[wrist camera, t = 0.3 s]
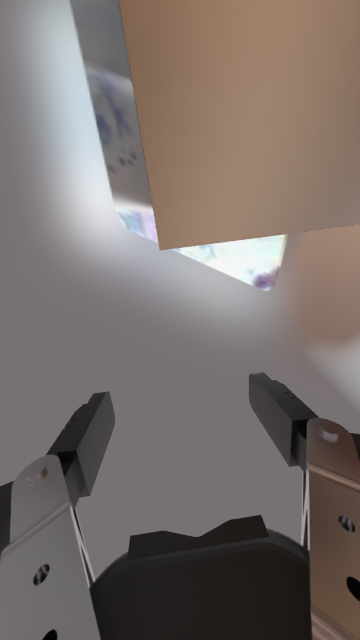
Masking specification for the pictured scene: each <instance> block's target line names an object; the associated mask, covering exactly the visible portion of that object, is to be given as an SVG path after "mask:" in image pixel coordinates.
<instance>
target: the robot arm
mask: <svg viewBox="0 0 360 640" xmlns="http://www.w3.org/2000/svg"><path fill="white" fill-rule="evenodd" d="M249 400H250V404H251V407H252V409H253V411H254V412H255V414H256V415H257V417H258V418H259V420H260V422H261V423H262V425H263V426H264V428H265V429H266V431H267V433H268V434H269V436H270V437H271V439H272V440H273V442H274V444H275V445H276V447H277V448H278V450H279V451H280V453H281V454H282V456H283V458H284V459H285V461H286V462H287V464H288V465H289V467H292V466H300V467H301V469H302V470H303V485H302V488H303V489H302V490H303V491H302V533H301V545H300V544H299V543H298V542H296V541H294V540H293V539H291V538H290V537H288V536H286V535H284V534H281V533H279V532H276V531H274V530H271V529H266V527H265V524H264V522H263V519H262V517H261V515H257V516H251V517H245V518H239V519H233V520H229V521H227V522H225V523H223V524H222V525H220V526H218V527H216V528H215V529H213V530H211V531H209V532H207V533H206V534H204V535H202V536H200V537H192V536H187V535H183V534H177V533H172V532H168V531H158V532H152V533H146V534H139V535H133V536H130V543H129V550H128V552H126V553H124V554H123V555H121V556H120V557H118V558H117V559H116V560H115V561H113V562H112V563H111V564H110V565H109V566H108V567H107V568H106V569H105V570H104V571H103V572H102V573H101V574H100V575H99V577H98V578H97V579H96V580H95V578H94V575H93V571H92V568H91V564H90V561H89V557H88V553H87V550H86V546H85V542H84V538H83V535H82V531H81V527H80V523H79V519H78V515H77V512H76V508H75V507H76V504H77V501H78V499H79V497H85V496H90V494H91V491H92V488H93V485H94V482H95V479H96V477H97V474H98V471H99V468H100V465H101V462H102V459H103V457H104V454H105V451H106V448H107V445H108V442H109V440H110V437H111V434H112V431H113V428H114V424H115V415H114V410H113V405H112V401H111V396H110V393H109V392H100V393H94V394H93V395H92V397H91V399H90V400H89V402H88V403H87V404H83V405H82V406H81V407H80V408H79V409H78V410H77V411H75V412H74V414H73V415H72V417H71V418H70V421H69V422H68V423H67V424H66V426H65V429H63V430H62V432H61V433H60V435H59V436H58V438H57V439H56V441H55V442H54V444H53V445H52V447H51V448H50V450H49V451H48V453H47V454H46V455H45V456H43V457H40V458H38V459H36V460H35V461H33V462H31V463H30V464H29V465H27V466H26V467H25V468H24V469H23V470H22V471H21V472H20V473H19V474H18V476H17V477H16V478H15V480H14V481H12V482H10V483H7V484H5V485H3V486H0V640H360V434H354V433H349V431H348V430H347V429H345V428H344V427H343V426H341V425H340V424H338V423H336V422H334V421H332V420H328V419H325V418H319V417H318V416H317V415H316V414H315V413H314V412H313V411H312V410H310V408H309V407H307V406H306V405H305V404H304V403H303V402H302V401H301V400H300V399H299V398H297V396H296V395H295V394H294V393H291V391H290V390H289V389H288V388H287V387H286V386H285V385H284V384H282V383H279V382H278V381H276V380H271V379H270V378H269V377H268V376H267V375H266V374H265V373H254V374H250V375H249Z"/></svg>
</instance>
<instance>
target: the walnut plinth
mask: <svg viewBox="0 0 360 640" xmlns="http://www.w3.org/2000/svg"><path fill="white" fill-rule="evenodd" d="M119 5H120V11H121V17H122V23H123V29H124V35H125V41H126V47H127V53H128V59H129V65H130V71H131V77H132V84H133V90H134V96H135V102H136V108H137V114H138V120H139V126H140V132H141V138H142V144H143V150H144V156H145V163H146V169H147V175H148V181H149V187H150V193H151V199H152V205H153V211H154V217H155V223H156V229H157V235H158V242H159V247H160V250H165V249H174V248H182V247H190V246H197V245H205V244H213V243H221V242H228V241H236V240H244V239H252V238H260V237H267V236H275V235H283V234H291V233H298V232H306V231H314V230H321V229H329V228H337V227H345V226H353V225H360V0H119Z"/></svg>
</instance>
